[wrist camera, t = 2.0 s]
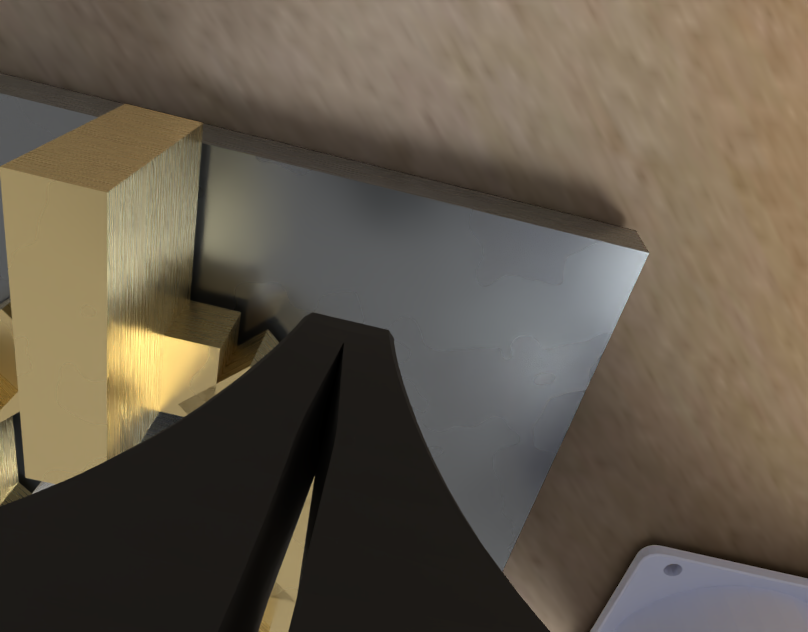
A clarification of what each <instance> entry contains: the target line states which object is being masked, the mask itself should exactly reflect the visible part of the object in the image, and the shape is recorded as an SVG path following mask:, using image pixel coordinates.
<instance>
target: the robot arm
mask: <svg viewBox="0 0 808 632" xmlns="http://www.w3.org/2000/svg"><path fill="white" fill-rule="evenodd" d="M314 476H315V478H314ZM313 479H314V484H313V491H312V498H311V505H310V511H309V518H308V525H307V532H306V539H305V546H304V552H303V559H302V566H301V573H300V580H299V587H298V594H297V599H296V603H295V607H294V611H293V615H292V619H291V623H290V627H289V631H288V632H550V631H549V630H548V629H547V627H546V626H545V625H544V624H543V623H542V621H541V620H540V619H539V618H538V617H537V615H536V614H535V613H534V612H533V611H532V610H531V608H530V607H529V606H528V605H527V604H526V602H525V601H524V600H523V599H522V598H521V596H520V595H519V594H518V593H517V591H516V590H515V588H514V587H513V586H512V584H511V583H510V582H509V580H508V579H507V578H506V576H505V575H504V573H503V572H502V571H501V569H500V568H499V567H498V565H497V564H496V562H495V561H494V560H493V558H492V557H491V556H490V554H489V553H488V552H487V550H486V549H485V547H484V546H483V545H482V543H481V542H480V540H479V539H478V537H477V535H476V534H475V532H474V531H473V529H472V527H471V526H470V524H469V523H468V521H467V519H466V518H465V516H464V515H463V513H462V511H461V510H460V508H459V506H458V504H457V503H456V501H455V499H454V497H453V496H452V494H451V492H450V490H449V489H448V487H447V485H446V483H445V481H444V479H443V477H442V475H441V473H440V471H439V469H438V467H437V465H436V463H435V461H434V459H433V457H432V455H431V453H430V450H429V448H428V446H427V444H426V442H425V439H424V437H423V435H422V432H421V430H420V427H419V425H418V423H417V420H416V417H415V414H414V412H413V409H412V406H411V404H410V401H409V398H408V395H407V392H406V389H405V386H404V383H403V379H402V376H401V372H400V369H399V365H398V361H397V356H396V351H395V345H394V337H393V336H392V334H391V333H390V331H389V330H387V329H383V328H378V327H374V326H370V325H365V324H361V323H357V322H352V321H348V320H344V319H340V318H335V317H331V316H327V315H322V314H318V313H314V312H312V313H310V314H308V315H306V316H305V317H303V319H302V320H301V321H300V322H299V323H298V324H297V325H296V327H295V328H294V329H293V330H292V331H291V332H290V333H289V334H288V335H287V336H286V337H285V338H284V339H283V340H282V341H281V342H280V343H278V344H277V345H276V346H275V347H274V348H273V349H272V350H271V351H270V352H269V353H268V354H266V355H265V356H264V357H263V358H262V359H261V360H259V361H258V362H257V363H256V364H255V365H253V366H252V367H251V368H250V369H249V370H248V371H246V372H245V373H244V374H243V375H242V376H240V377H239V378H238V379H237V380H235V381H234V382H233V383H231V384H230V385H228V386H227V387H226V388H224V389H223V390H222V391H220V392H219V393H218V394H216V395H215V396H213V397H212V398H211V399H209V400H208V401H207V402H205V403H204V404H203V405H201V406H200V407H198V408H197V409H195V410H194V411H192V412H191V413H189V414H188V415H186V416H185V417H183V418H181V419H180V420H178V421H177V422H175V423H174V424H172V425H170V426H169V427H167V428H165V429H164V430H162V431H160V432H159V433H157V434H155V435H153V436H152V437H150V438H148V439H147V440H145V441H143V442H141V443H139V444H137V445H136V446H134V447H132V448H130V449H128V450H126V451H124V452H122V453H120V454H118V455H116V456H115V457H113V458H111V459H109V460H107V461H105V462H103V463H101V464H99V465H97V466H95V467H93V468H91V469H89V470H87V471H85V472H83V473H80V474H78V475H76V476H74V477H72V478H70V479H67V480H65V481H62V482H60V483H58V484H55V485H53V486H51V487H48V488H46V489H43V490H41V491H39V492H36V493H34V494H31V495H29V496H26V497H24V498H21V499H18V500H16V501H13V502H11V503H8V504H5V505H3V506H0V632H258V631H259V628H260V624H261V621H262V618H263V615H264V612H265V609H266V606H267V603H268V600H269V597H270V595H271V592H272V589H273V586H274V584H275V581H276V578H277V576H278V573H279V570H280V568H281V565H282V562H283V560H284V557H285V554H286V552H287V549H288V546H289V544H290V541H291V538H292V536H293V533H294V530H295V528H296V525H297V522H298V520H299V517H300V514H301V511H302V509H303V506H304V503H305V501H306V498H307V495H308V493H309V490H310V487H311V484H312V482H313ZM670 564H672V565H670ZM590 632H808V578H803V577H799V576H794V575H790V574H785V573H781V572H777V571H772V570H768V569H763V568H759V567H754V566H750V565H745V564H741V563H736V562H732V561H727V560H723V559H718V558H714V557H709V556H705V555H700V554H696V553H692V552H687V551H683V550H678V549H674V548H669V547H665V546H660V545H650V546H646V547H644V548H642V549H641V550H640V551H639V552H638V553H637V555H636V557H635V558H634V560H633V561H632V563H631V565H630V566H629V568H628V570H627V571H626V573H625V575H624V576H623V578H622V580H621V581H620V583H619V585H618V586H617V588H616V590H615V591H614V593H613V595H612V596H611V598H610V599H609V601H608V603H607V604H606V606H605V608H604V609H603V611H602V613H601V614H600V616H599V618H598V619H597V621H596V623H595V624H594V626H593V628H592V629H591V631H590Z"/></svg>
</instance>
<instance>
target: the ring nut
mask: <svg viewBox="0 0 808 632" xmlns="http://www.w3.org/2000/svg"><path fill="white" fill-rule="evenodd" d="M202 134H203V123H202V122H198V121H194V120H190V119H186V118H182V117H177V116H173V115H169V114H165V113H161V112H157V111H153V110H149V109H145V108H141V107H137V106H133V105H129V104H124V105H122V106H120V107H118V108H116V109H114V110H112V111H110V112H108V113H106V114H104V115H102V116H100V117H98V118H96V119H94V120H92V121H90V122H88V123H86V124H84V125H82V126H80V127H78V128H76V129H74V130H72V131H70V132H68V133H66V134H64V135H62V136H60V137H58V138H56V139H54V140H52V141H50V142H48V143H46V144H44V145H42V146H40V147H38V148H36V149H34V150H32V151H30V152H28V153H26V154H24V155H22V156H20V157H18V158H16V159H14V160H12V161H10V162H8V163H6V164H4V165H2V166H0V180H1V192H2V204H3V216H4V228H5V240H6V251H7V263H8V275H9V287H10V298H9V299H7V300H6V301H4V302H3V303H1V304H0V506H3V505H5V504H8V503H11V502H13V501H16V500H18V499H21V498H24V497H26V496H29V495H31V494H32V493H30V492H29V491H28V490H27V489H26V488H25V487H24V486H22V485H21V484H20V483H19V481H18V470H17V459H16V449H15V438H14V427H13V415H14V414H16V413H18V412H20V418H21V430H22V442H23V454H24V466H25V478H29V479H34V480H39V481H43V482H48V483H52V484H58V483H60V482H62V481H65V480H67V479H70V478H72V477H74V476H76V475H78V474H80V473H83V472H85V471H87V470H89V469H91V468H93V467H95V466H97V465H99V464H101V463H103V462H105V461H107V460H109V459H111V458H113V457H115V456H116V455H118V454H120V453H122V452H124V451H126V450H128V449H130V448H132V447H134V446H136V445H137V444H139V443H140V442H141V441H142V439H143V437H144V436H145V434H146V433H147V431H148V429H149V428H150V426H151V425H152V423H153V422H154V420H155V418H156V417H157V415H158V414H159V412H165V413H169V414H174V415H178V416H183V417H185V416H186V415H188V414H189V413H191V412H192V411H194V410H195V409H197V408H198V407H200V406H201V405H203V404H204V403H205V402H207V401H208V400H209V399H211V398H212V397H213V396H215V395H216V394H218V393H219V392H220V391H222V390H223V389H224V388H226V387H227V386H228V385H230V384H231V383H233V382H234V381H235V380H237V379H238V378H239V377H240V376H242V375H243V374H244V373H245V372H246V371H248V370H249V369H250V368H251V367H252V366H253V365H255V364H256V363H257V362H258V361H259V360H261V359H262V358H263V357H264V356H265V355H266V354H268V353H269V352H270V351H271V350H272V349H273V348H274V347H275V346H276V345H277V344H278V343H279V342H278V341H277V339H276V338H275V337H274V336H273V334H272V333H271V332H270V331H269V329H267V330H265V331H263V332H261V333H260V334H258V335H256V336H254V337H252V338H250V339H249V340H247V341H245V342H243V343H241V344H239V345H238V346H237V342H238V334H239V326H240V318H241V312H238V311H234V310H229V309H225V308H221V307H217V306H212V305H208V304H204V303H199V302H195V301H191V300H190V294H191V281H192V268H193V254H194V241H195V227H196V214H197V201H198V187H199V174H200V160H201V147H202ZM314 478H315V476H314ZM313 484H314V479H313V482H312V484H311V487H310V490H309V493H308V495H307V498H306V501H305V503H304V506H303V509H302V511H301V514H300V517H299V520H298V522H297V525H296V528H295V530H294V533H293V536H292V538H291V541H290V544H289V546H288V549H287V552H286V554H285V557H284V560H283V562H282V565H281V568H280V570H279V573H278V576H277V578H276V581H275V584H274V586H273V589H272V592H271V595H270V597H269V600H268V603H267V606H266V609H265V612H264V615H263V618H262V621H261V624H260V628H259V631H258V632H288V631H289V627H290V623H291V619H292V615H293V611H294V607H295V603H296V599H297V594H298V587H299V580H300V573H301V566H302V559H303V552H304V546H305V539H306V532H307V525H308V518H309V511H310V505H311V498H312V491H313Z"/></svg>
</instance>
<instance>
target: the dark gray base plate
mask: <svg viewBox="0 0 808 632" xmlns="http://www.w3.org/2000/svg"><path fill="white" fill-rule="evenodd" d="M122 105H124V104H123V103H119V102H115V101H111V100H107V99H103V98H99V97H95V96H91V95H87V94H83V93H79V92H74V91H70V90H66V89H62V88H58V87H54V86H50V85H46V84H42V83H38V82H34V81H30V80H26V79H22V78H18V77H14V76H10V75H6V74H2V73H0V166H2V165H4V164H6V163H8V162H10V161H12V160H14V159H16V158H18V157H20V156H22V155H24V154H26V153H28V152H30V151H32V150H34V149H36V148H38V147H40V146H42V145H44V144H46V143H48V142H50V141H52V140H54V139H56V138H58V137H60V136H62V135H64V134H66V133H68V132H70V131H72V130H74V129H76V128H78V127H80V126H82V125H84V124H86V123H88V122H90V121H92V120H94V119H96V118H98V117H100V116H102V115H104V114H106V113H108V112H110V111H112V110H114V109H116V108H118V107H120V106H122ZM648 254H649V252H648V250H647V249H646V247H645V245H644V244H643V242H642V240H641V238H640V237H639V235H638V233H637V232H636V231H635V230H631V229H627V228H623V227H619V226H615V225H611V224H607V223H603V222H599V221H595V220H591V219H587V218H583V217H579V216H575V215H571V214H567V213H563V212H559V211H555V210H551V209H547V208H542V207H538V206H534V205H530V204H526V203H522V202H518V201H514V200H510V199H506V198H502V197H498V196H494V195H490V194H486V193H482V192H478V191H474V190H470V189H466V188H462V187H458V186H454V185H450V184H446V183H442V182H438V181H434V180H430V179H425V178H421V177H417V176H413V175H409V174H405V173H401V172H397V171H393V170H389V169H385V168H381V167H377V166H373V165H369V164H365V163H361V162H357V161H353V160H349V159H345V158H341V157H337V156H333V155H329V154H325V153H321V152H317V151H313V150H308V149H304V148H300V147H296V146H292V145H288V144H284V143H280V142H276V141H272V140H268V139H264V138H260V137H256V136H252V135H248V134H244V133H240V132H236V131H232V130H228V129H224V128H220V127H216V126H212V125H208V124H204V123H203V134H202V147H201V160H200V174H199V187H198V201H197V214H196V227H195V241H194V254H193V268H192V281H191V294H190V300H191V301H195V302H199V303H204V304H208V305H212V306H217V307H221V308H225V309H229V310H234V311H238V312H241V318H240V326H239V334H238V342H237V346H238V345H239V344H241V343H243V342H245V341H247V340H249V339H250V338H252V337H254V336H256V335H258V334H260V333H261V332H263V331H265V330H267V329H269V331H270V332H271V333H272V334H273V336H274V337H275V338H276V339H277V341H278V342H279V343H280V342H281V341H282V340H283V339H284V338H285V337H286V336H287V335H288V334H289V333H290V332H291V331H292V330H293V329H294V328H295V327H296V325H297V324H298V323H299V322H300V321H301V320H302V319H303V317H305V316H306V315H308V314H310V313H312V312H314V313H318V314H322V315H327V316H331V317H335V318H340V319H344V320H348V321H352V322H357V323H361V324H365V325H370V326H374V327H378V328H383V329H387V330H389V331H390V333H391V334H392V336H393V337H394V345H395V351H396V356H397V361H398V365H399V369H400V372H401V376H402V379H403V383H404V386H405V389H406V392H407V395H408V398H409V401H410V404H411V406H412V409H413V412H414V414H415V417H416V420H417V423H418V425H419V427H420V430H421V432H422V435H423V437H424V439H425V442H426V444H427V446H428V448H429V450H430V453H431V455H432V457H433V459H434V461H435V463H436V465H437V467H438V469H439V471H440V473H441V475H442V477H443V479H444V481H445V483H446V485H447V487H448V489H449V490H450V492H451V494H452V496H453V497H454V499H455V501H456V503H457V504H458V506H459V508H460V510H461V511H462V513H463V515H464V516H465V518H466V519H467V521H468V523H469V524H470V526H471V527H472V529H473V531H474V532H475V534H476V535H477V537H478V539H479V540H480V542H481V543H482V545H483V546H484V547H485V549H486V550H487V552H488V553H489V554H490V556H491V557H492V558H493V560H494V561H495V562H496V564H497V565H498V567H499V568H500V569H501V571H503V569H504V567H505V565H506V563H507V560H508V558H509V556H510V554H511V552H512V549H513V547H514V545H515V543H516V541H517V539H518V536H519V534H520V532H521V530H522V528H523V526H524V523H525V521H526V519H527V517H528V515H529V513H530V510H531V508H532V506H533V504H534V502H535V500H536V497H537V495H538V493H539V491H540V489H541V487H542V484H543V482H544V480H545V478H546V476H547V474H548V471H549V469H550V467H551V465H552V463H553V461H554V458H555V456H556V454H557V452H558V450H559V448H560V445H561V443H562V441H563V439H564V437H565V434H566V432H567V430H568V428H569V426H570V424H571V421H572V419H573V417H574V415H575V413H576V411H577V408H578V406H579V404H580V402H581V400H582V398H583V395H584V393H585V391H586V389H587V387H588V385H589V382H590V380H591V378H592V376H593V374H594V372H595V369H596V367H597V365H598V363H599V361H600V359H601V356H602V354H603V352H604V350H605V348H606V346H607V343H608V341H609V339H610V337H611V335H612V333H613V330H614V328H615V326H616V324H617V322H618V319H619V317H620V315H621V313H622V311H623V309H624V306H625V304H626V302H627V300H628V298H629V296H630V293H631V291H632V289H633V287H634V285H635V283H636V280H637V278H638V276H639V274H640V272H641V270H642V267H643V265H644V263H645V261H646V259H647V257H648ZM9 298H10V287H9V275H8V263H7V251H6V240H5V228H4V216H3V204H2V192H1V180H0V304H1V303H3V302H4V301H6V300H7V299H9ZM181 418H183V416H178V415H174V414H169V413H165V412H159V414H158V415H157V417H156V418H155V420H154V422H153V423H152V425H151V426H150V428H149V429H148V431H147V433H146V434H145V436H144V437H143V439H142V441H141V442H143V441H145V440H147V439H148V438H150V437H152V436H153V435H155V434H157V433H159V432H160V431H162V430H164V429H165V428H167V427H169V426H170V425H172V424H174V423H175V422H177V421H178V420H180V419H181ZM13 427H14V438H15V449H16V459H17V470H18V481H19V483H20V484H21V485H22V486H24V487H25V488H26V489H27V490H28V491H29V492H30V493H32V494H34V493H36V492H39V491H41V490H43V489H46V488H48V487H51V486H53V485H55V484H52V483H48V482H43V481H39V480H34V479H29V478H25V466H24V454H23V442H22V430H21V418H20V412H18V413H16V414H14V415H13ZM141 442H140V443H141Z"/></svg>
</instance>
